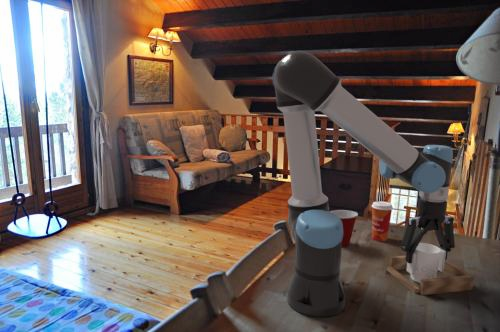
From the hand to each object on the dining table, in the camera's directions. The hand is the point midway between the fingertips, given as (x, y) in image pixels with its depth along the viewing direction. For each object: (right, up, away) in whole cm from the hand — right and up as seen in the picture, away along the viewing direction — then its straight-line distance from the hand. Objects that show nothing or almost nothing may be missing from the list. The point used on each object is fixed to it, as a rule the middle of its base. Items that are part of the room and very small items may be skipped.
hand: (424, 271), depth 113 cm
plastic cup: (-19, +3, +27) cm, 33 cm away
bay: (+1, -2, +1) cm, 3 cm away
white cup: (-1, -3, 0) cm, 3 cm away
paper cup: (-3, +3, +32) cm, 32 cm away
